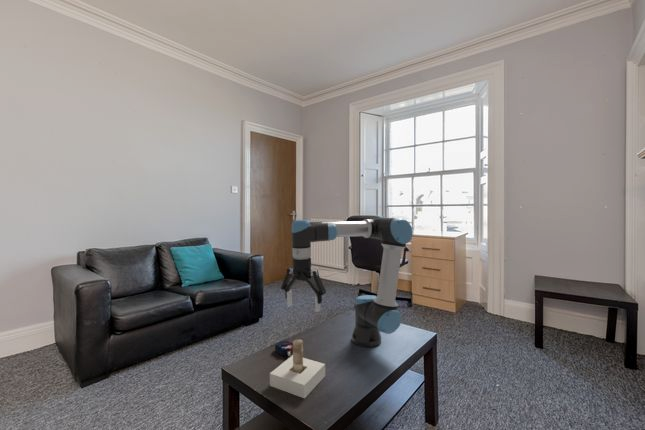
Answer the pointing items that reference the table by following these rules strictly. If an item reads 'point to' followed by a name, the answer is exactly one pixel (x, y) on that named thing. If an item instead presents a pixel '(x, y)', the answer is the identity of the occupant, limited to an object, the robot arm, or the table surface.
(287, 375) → the socket block
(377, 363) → the table surface
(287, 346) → the figurine
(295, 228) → the robot arm
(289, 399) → the table surface
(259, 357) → the table surface
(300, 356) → the dowel
